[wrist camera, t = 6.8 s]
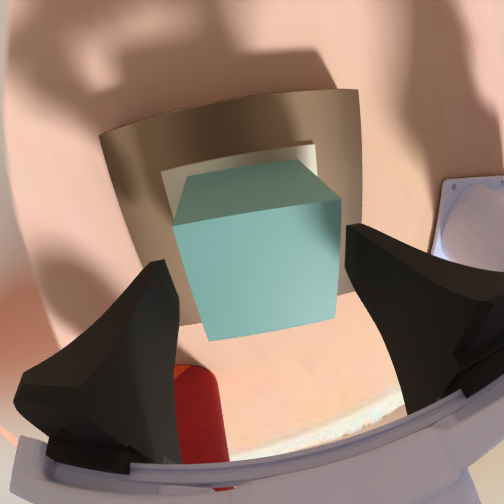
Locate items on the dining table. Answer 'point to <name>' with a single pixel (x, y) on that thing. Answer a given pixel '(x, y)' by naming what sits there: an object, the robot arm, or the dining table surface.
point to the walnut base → (231, 162)
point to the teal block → (260, 247)
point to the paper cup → (199, 417)
